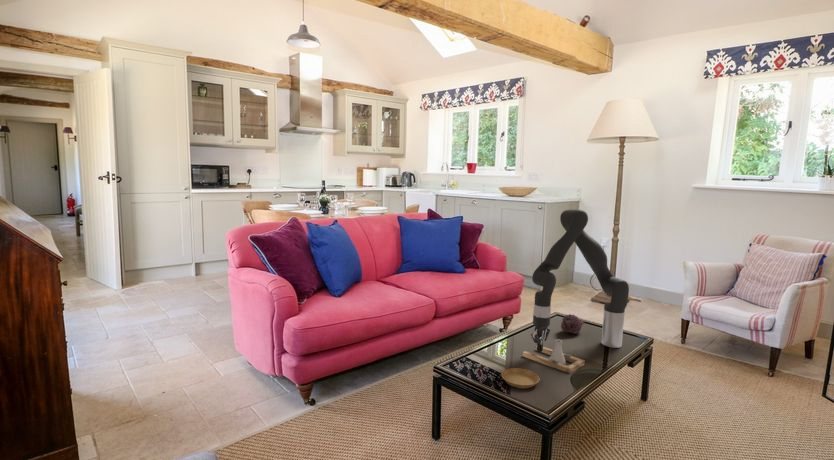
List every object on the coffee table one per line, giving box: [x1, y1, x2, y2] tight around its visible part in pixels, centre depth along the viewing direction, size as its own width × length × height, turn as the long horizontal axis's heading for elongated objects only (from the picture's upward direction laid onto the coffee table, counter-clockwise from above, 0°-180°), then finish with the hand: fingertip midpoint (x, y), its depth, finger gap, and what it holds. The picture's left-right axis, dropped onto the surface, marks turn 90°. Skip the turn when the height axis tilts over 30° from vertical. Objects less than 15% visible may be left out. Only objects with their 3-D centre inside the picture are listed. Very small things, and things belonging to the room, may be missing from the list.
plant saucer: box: [501, 367, 540, 389], centre depth 177 cm, size 15×15×3 cm
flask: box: [548, 339, 567, 365], centre depth 196 cm, size 7×7×10 cm
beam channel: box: [522, 345, 586, 374], centre depth 198 cm, size 13×23×2 cm, turn 44°
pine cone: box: [560, 314, 586, 335], centre depth 233 cm, size 18×10×10 cm, turn 128°
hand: (539, 351), depth 203 cm, fingers closed
